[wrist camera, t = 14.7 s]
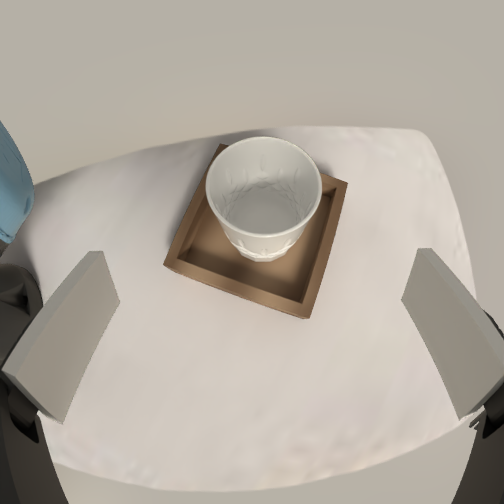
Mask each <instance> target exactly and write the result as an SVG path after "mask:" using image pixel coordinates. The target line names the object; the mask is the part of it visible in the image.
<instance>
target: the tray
mask: <svg viewBox="0 0 504 504" xmlns="http://www.w3.org/2000/svg"><path fill="white" fill-rule="evenodd" d="M227 147H229V146H228V145H224V144H220V145H219V147H218V149H217V151H216V152H215V154H214V156H213V158H212V160H211V162H210V164H209V166H208V168H207V170H206V172H205V174H204V176H203V178H202V180H201V182H200V184H199V186H198V188H197V190H196V192H195V194H194V196H193V198H192V200H191V202H190V205H189V207H188V209H187V211H186V213H185V215H184V218H183V220H182V222H181V224H180V226H179V229H178V231H177V233H176V235H175V238H174V240H173V242H172V244H171V247H170V249H169V252H168V254H167V256H166V259H165V261H164V263H163V265H164V266H166V267H167V268H169V269H171V270H172V271H174V272H176V273H179V274H181V275H184V276H186V277H189V278H191V279H194V280H196V281H199V282H201V283H204V284H207V285H209V286H212V287H214V288H217V289H220V290H222V291H225V292H228V293H230V294H233V295H236V296H239V297H241V298H244V299H247V300H250V301H252V302H255V303H258V304H261V305H264V306H266V307H269V308H272V309H275V310H278V311H281V312H284V313H287V314H290V315H293V316H296V317H299V318H302V319H309V318H310V315H311V312H312V309H313V306H314V303H315V300H316V297H317V294H318V291H319V288H320V285H321V281H322V278H323V275H324V272H325V268H326V265H327V261H328V258H329V254H330V251H331V247H332V244H333V240H334V237H335V233H336V229H337V225H338V221H339V218H340V214H341V210H342V206H343V201H344V197H345V193H346V189H347V184H348V183H347V182H344V181H342V180H339V179H336V178H333V177H331V176H328V175H325V174H322V173H320V176H321V181H322V194H321V199H320V202H319V205H318V207H317V209H316V211H315V213H314V214H313V216H312V217H311V219H310V221H309V222H308V224H307V226H306V227H305V229H304V231H303V232H302V234H301V235H300V237H299V238H298V240H297V241H296V242H295V244H294V245H293V246H291V248H290V249H289V250H288V252H287V253H286V254H285V255H284V256H281V257H279V258H277V259H275V260H273V261H271V262H255V261H253V260H251V259H248V258H246V257H244V256H242V255H241V254H240V253H239V252H238V250H237V249H236V248H235V247H234V246H233V244H232V243H231V242H230V240H229V239H228V237H227V236H226V234H225V233H224V231H223V229H222V227H221V225H220V224H219V222H218V220H217V218H216V216H215V214H214V212H213V211H212V209H211V207H210V205H209V202H208V199H207V195H206V178H207V174H208V171H209V168H210V166H211V164H212V163H213V161H214V160H215V158H216V157H217V156H218V155H219V154H220V153H221V152H222V151H223V150H224V149H226V148H227Z"/></svg>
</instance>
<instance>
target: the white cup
mask: <svg viewBox="0 0 504 504" xmlns="http://www.w3.org/2000/svg"><path fill="white" fill-rule="evenodd" d="M321 194H322V181H321V176H320V173H319V170H318V168H317V166H316V164H315V163H314V161H313V160H312V159H311V157H310V156H309V155H308V154H307V153H306V152H305V151H304V150H302V149H301V148H300V147H298V146H297V145H295V144H293V143H291V142H289V141H286V140H283V139H280V138H275V137H267V136H259V137H251V138H247V139H243V140H240V141H238V142H236V143H234V144H232V145H230V146H229V147H227V148H226V149H224V150H223V151H222V152H221V153H220V154H219V155H218V156H217V157H216V158H215V160H214V161H213V163H212V164H211V166H210V168H209V171H208V174H207V178H206V195H207V199H208V202H209V205H210V207H211V209H212V211H213V212H214V214H215V216H216V218H217V220H218V222H219V224H220V225H221V227H222V229H223V231H224V233H225V234H226V236H227V237H228V239H229V240H230V242H231V243H232V244H233V246H234V247H235V248H236V249H237V250H238V252H239V253H240V254H241V255H242V256H244V257H246V258H248V259H251V260H253V261H255V262H271V261H273V260H275V259H277V258H279V257H281V256H284V255H285V254H286V253H287V252H288V250H289V249H290V248H291V246H293V245H294V244H295V242H296V241H297V240H298V238H299V237H300V235H301V234H302V232H303V231H304V229H305V227H306V226H307V224H308V222H309V221H310V219H311V217H312V216H313V214H314V213H315V211H316V209H317V207H318V205H319V202H320V199H321Z"/></svg>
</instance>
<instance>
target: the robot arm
mask: <svg viewBox="0 0 504 504" xmlns="http://www.w3.org/2000/svg"><path fill="white" fill-rule="evenodd" d="M33 204H34V187H33V183H32V179H31V176H30V173H29V171H28V168H27V166H26V164H25V162H24V160H23V157H22V155H21V154H20V152H19V150H18V148H17V146H16V144H15V143H14V141H13V139H12V138H11V136H10V134H9V133H8V131H7V130H6V128H5V127H4V126H3V124H2V123H1V121H0V257H1V255H2V254H3V252H4V251H5V249H6V248H7V246H8V245H9V243H12V242H13V241H14V239H15V237H16V233H17V231H18V230H19V228H20V227H21V225H22V224H23V222H24V221H25V219H26V218H27V217H28V215H29V214H30V212H31V210H32V207H33ZM401 300H402V302H403V304H404V306H405V307H406V309H407V311H408V313H409V314H410V316H411V318H412V320H413V322H414V323H415V325H416V327H417V329H418V331H419V333H420V335H421V337H422V338H423V340H424V342H425V344H426V346H427V348H428V350H429V352H430V354H431V356H432V358H433V361H434V363H435V365H436V367H437V369H438V371H439V373H440V375H441V378H442V380H443V382H444V384H445V387H446V389H447V391H448V394H449V396H450V399H451V401H452V403H453V406H454V408H455V411H456V414H457V416H458V419H459V421H460V420H462V419H464V418H466V417H468V416H471V415H473V414H474V413H475V412H476V411H477V410H478V409H479V408H480V407H481V406H482V405H484V408H485V410H484V411H483V412H482V413H481V414H480V415H479V416H477V417H476V418H475V419H474V420H473V421H472V422H471V423H470V426H469V427H470V428H471V427H472V426H474V425H475V424H476V423H477V422H478V421H479V423H478V424H477V425H476V426H475V428H474V429H475V430H477V433H476V437H475V440H474V444H473V448H472V451H471V454H470V457H469V461H468V464H467V467H466V469H465V472H464V475H463V477H462V480H461V483H460V485H459V488H458V490H457V492H456V495H455V497H454V499H453V502H452V504H504V334H503V333H502V331H501V330H500V329H499V328H498V325H497V324H496V323H495V321H494V319H493V318H492V317H491V316H490V315H489V314H488V313H486V312H485V311H484V310H483V309H482V308H481V307H480V305H479V304H478V303H477V301H476V300H475V299H474V298H473V296H472V295H471V294H470V292H469V291H468V290H467V289H466V288H465V286H464V285H463V284H462V283H461V281H460V280H459V279H458V278H457V277H456V275H455V274H454V273H453V272H452V271H451V270H450V269H449V267H448V266H447V265H446V264H445V263H444V262H443V261H442V260H441V258H440V257H439V256H438V255H437V254H436V253H435V252H434V251H433V250H432V249H431V248H419V249H418V250H417V254H416V257H415V260H414V264H413V267H412V270H411V273H410V276H409V279H408V282H407V285H406V288H405V291H404V293H403V296H402V299H401ZM119 304H120V300H119V297H118V295H117V292H116V289H115V287H114V284H113V281H112V278H111V275H110V272H109V269H108V266H107V263H106V260H105V256H104V253H103V251H89V252H88V253H87V254H86V255H85V256H84V258H83V259H82V260H81V261H80V262H79V263H78V264H77V266H76V267H75V268H74V269H73V270H72V271H71V273H70V274H69V275H68V276H67V277H66V279H65V280H64V281H63V282H62V283H61V285H60V286H59V287H58V288H57V290H56V291H55V292H54V293H53V295H52V296H51V297H50V298H49V300H48V301H47V302H46V304H45V305H44V306H42V300H41V296H40V292H39V289H38V287H37V284H36V282H35V280H34V278H33V277H32V275H31V274H30V273H29V272H28V271H27V270H26V269H24V268H22V267H19V266H16V265H13V264H0V504H69V503H68V501H67V499H66V497H65V494H64V492H63V490H62V487H61V485H60V482H59V479H58V477H57V474H56V471H55V469H54V466H53V463H52V460H51V457H50V453H49V450H48V447H47V443H46V440H45V436H44V432H43V428H42V424H41V420H40V418H39V416H38V415H37V412H38V410H39V411H41V412H42V413H43V414H44V415H45V416H46V417H47V418H49V419H51V420H53V421H55V422H58V423H60V424H63V422H64V419H65V417H66V414H67V412H68V409H69V407H70V404H71V402H72V400H73V397H74V395H75V392H76V390H77V388H78V386H79V383H80V381H81V379H82V377H83V374H84V372H85V370H86V368H87V366H88V364H89V362H90V359H91V357H92V355H93V353H94V351H95V349H96V347H97V345H98V343H99V341H100V339H101V337H102V335H103V333H104V331H105V329H106V328H107V326H108V324H109V322H110V320H111V318H112V316H113V314H114V313H115V311H116V309H117V307H118V305H119Z"/></svg>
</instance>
